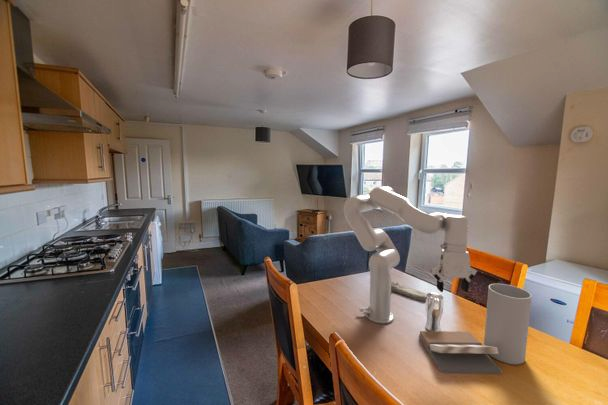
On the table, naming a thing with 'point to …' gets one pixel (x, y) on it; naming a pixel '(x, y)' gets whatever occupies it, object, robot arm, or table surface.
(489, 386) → the table surface
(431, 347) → the loose plank
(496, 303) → the cylinder vase
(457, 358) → the grey flat piece
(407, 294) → the long grey stone
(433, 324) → the beer glass
